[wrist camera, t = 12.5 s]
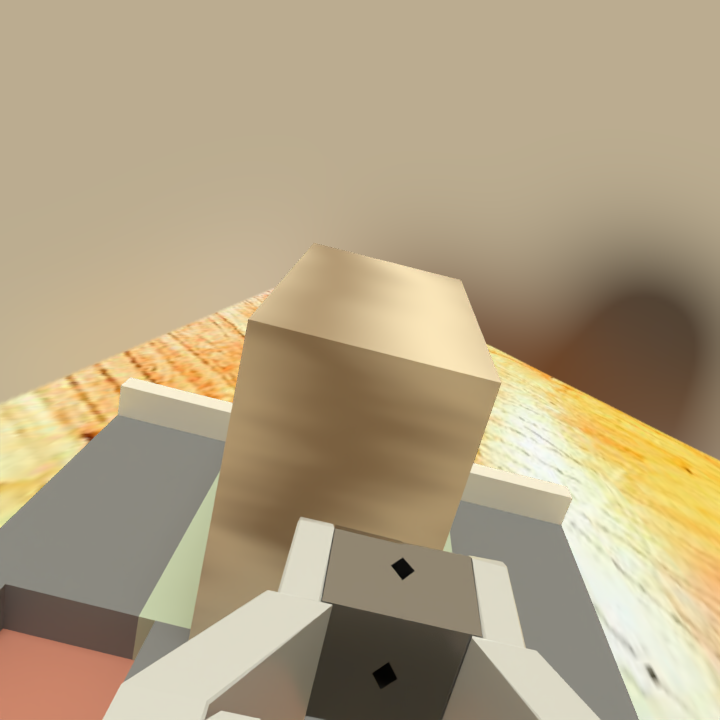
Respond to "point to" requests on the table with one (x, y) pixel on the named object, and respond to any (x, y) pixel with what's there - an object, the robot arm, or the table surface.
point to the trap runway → (186, 554)
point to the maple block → (345, 418)
